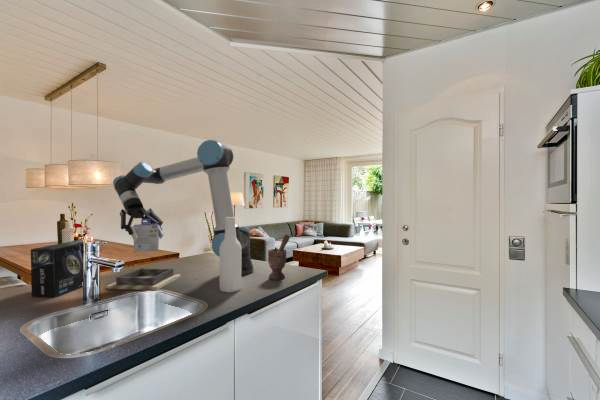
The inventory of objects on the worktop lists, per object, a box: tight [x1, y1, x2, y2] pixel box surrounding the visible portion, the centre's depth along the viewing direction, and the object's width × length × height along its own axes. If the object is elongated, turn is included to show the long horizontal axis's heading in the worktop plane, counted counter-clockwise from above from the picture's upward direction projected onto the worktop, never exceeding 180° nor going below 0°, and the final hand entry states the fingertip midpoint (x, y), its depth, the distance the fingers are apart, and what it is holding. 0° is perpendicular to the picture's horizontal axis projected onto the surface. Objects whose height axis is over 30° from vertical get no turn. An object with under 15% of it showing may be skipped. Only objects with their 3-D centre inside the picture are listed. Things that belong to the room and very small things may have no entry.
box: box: [30, 239, 84, 299], centre depth 123 cm, size 23×10×19 cm, turn 176°
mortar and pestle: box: [267, 234, 290, 281], centre depth 140 cm, size 12×9×20 cm
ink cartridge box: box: [133, 218, 160, 254], centre depth 132 cm, size 10×6×14 cm, turn 120°
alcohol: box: [219, 216, 242, 293], centre depth 121 cm, size 9×9×30 cm
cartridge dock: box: [106, 267, 182, 291], centre depth 132 cm, size 22×20×4 cm
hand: (149, 238), depth 130 cm, fingers closed on ink cartridge box, 11 cm apart
